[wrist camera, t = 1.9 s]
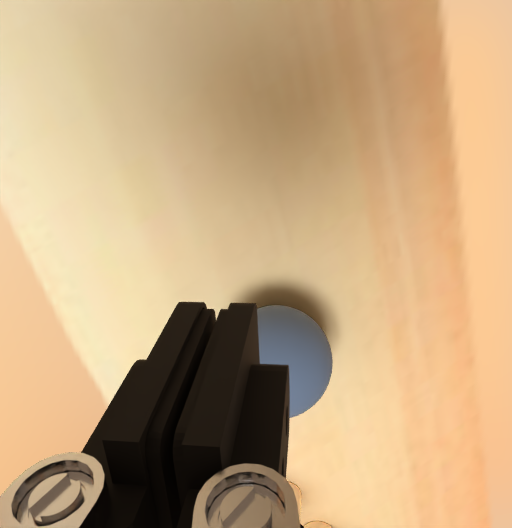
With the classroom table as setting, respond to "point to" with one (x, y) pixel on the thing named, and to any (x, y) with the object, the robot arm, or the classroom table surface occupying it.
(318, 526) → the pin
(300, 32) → the classroom table surface
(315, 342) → the ball
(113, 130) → the classroom table surface
